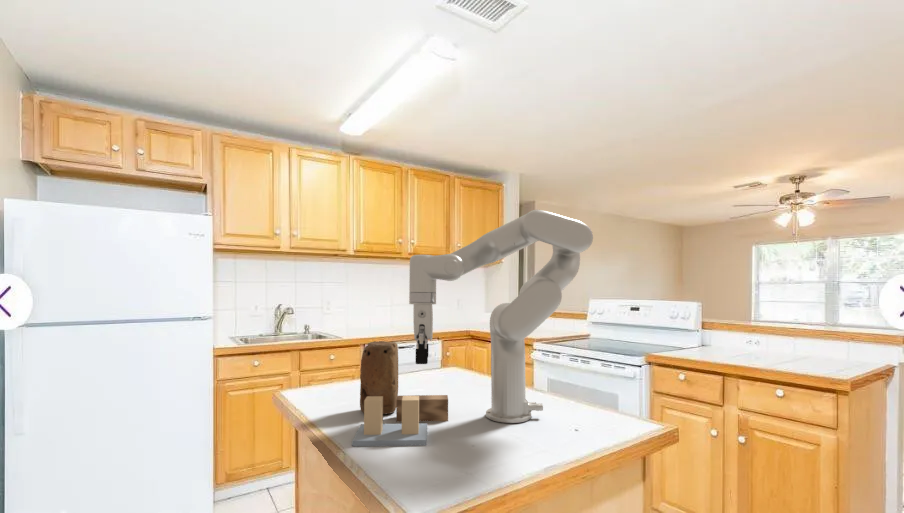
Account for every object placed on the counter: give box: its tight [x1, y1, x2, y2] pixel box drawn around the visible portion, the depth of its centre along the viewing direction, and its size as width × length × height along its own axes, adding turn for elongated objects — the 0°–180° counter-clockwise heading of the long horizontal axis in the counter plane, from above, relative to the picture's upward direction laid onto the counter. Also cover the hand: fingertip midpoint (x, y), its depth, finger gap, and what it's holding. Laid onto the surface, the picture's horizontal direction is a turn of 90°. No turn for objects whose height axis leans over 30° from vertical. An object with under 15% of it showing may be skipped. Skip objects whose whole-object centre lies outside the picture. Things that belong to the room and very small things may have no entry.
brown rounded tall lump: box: [359, 340, 399, 415], centre depth 130 cm, size 11×8×20 cm
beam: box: [395, 394, 449, 423], centre depth 123 cm, size 14×4×6 cm, turn 93°
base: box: [351, 395, 428, 447], centre depth 108 cm, size 17×12×9 cm
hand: (422, 360), depth 123 cm, fingers open, 9 cm apart
